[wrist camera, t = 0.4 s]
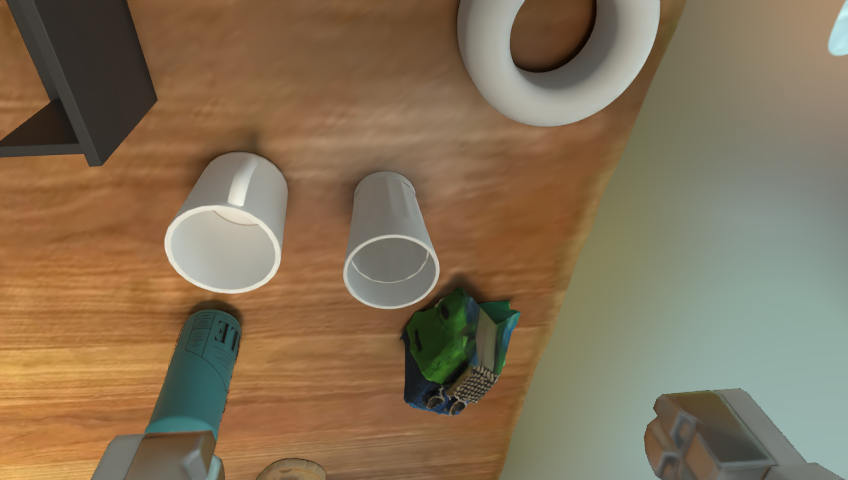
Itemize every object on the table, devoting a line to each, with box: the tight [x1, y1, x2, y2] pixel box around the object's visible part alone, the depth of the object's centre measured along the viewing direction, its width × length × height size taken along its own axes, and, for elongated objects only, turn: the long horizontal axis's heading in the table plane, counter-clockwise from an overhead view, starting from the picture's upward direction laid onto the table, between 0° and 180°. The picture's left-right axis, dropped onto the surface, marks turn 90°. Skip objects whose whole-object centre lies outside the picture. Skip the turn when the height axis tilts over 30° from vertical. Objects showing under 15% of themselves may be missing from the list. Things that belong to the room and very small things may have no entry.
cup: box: [343, 171, 439, 309], centre depth 47 cm, size 8×8×12 cm
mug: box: [165, 152, 288, 294], centre depth 45 cm, size 11×9×10 cm
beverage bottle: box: [145, 309, 242, 442], centre depth 51 cm, size 6×7×20 cm
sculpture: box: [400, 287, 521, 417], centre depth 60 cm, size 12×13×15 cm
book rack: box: [0, 0, 157, 167], centre depth 34 cm, size 14×8×12 cm, turn 0°
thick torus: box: [457, 0, 660, 127], centre depth 40 cm, size 15×15×7 cm
